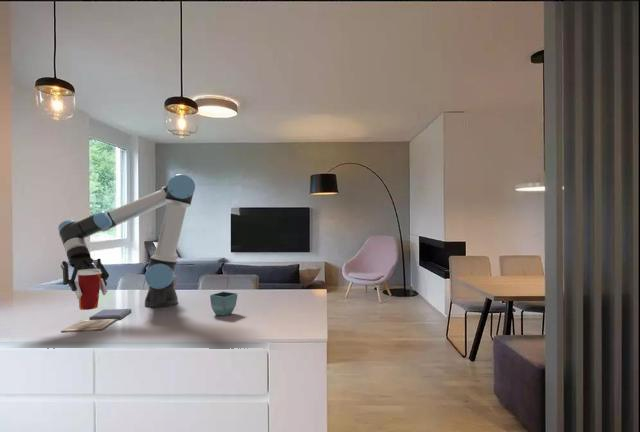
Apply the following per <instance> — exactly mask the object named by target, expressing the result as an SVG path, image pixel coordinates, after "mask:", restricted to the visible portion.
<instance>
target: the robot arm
mask: <svg viewBox="0 0 640 432" xmlns="http://www.w3.org/2000/svg"><path fill="white" fill-rule="evenodd" d="M195 190H196V183H195V181H194V180H193V178H192V177H190V176H189V175H187V174H184V173H179V174H178V173H177V174H175V175H173V176H171V177H170V178H169V180H168V182H167V184H166V185H164V186H161V189H159V190H158V191H157V190H156V191H154V192H152V193H150V194H147V195H145V196H143V197H141V198H138V199H136V200H134V201H131V202H128V203H125V204H124V205H121V206H120V207H116V208H114V209H111V210H109V211H107V212H106V211H104V210H102V211H99V212H95V213H94V214H92V215H89V216H88V217H86V218H83V219H81V220H79V221H76V220H73V219H69V220H64V221H62V222H60V224H59V225H58V227H57V229H58V234H59V237H60V240H61V242H62V246H63V248H64V250H65V254H66V257H67V260H68V261H65V260H63V261H62V262H61V264H60V268H61V270H62V283H63V285H64V286H65V285H68V287H70V288H71V289H70V290H71V292H74V293H75V295H76V298H77V300H79V299H80V298H81V296H82V293H81V290H80V287H79V284H78V280H76V279H77V276H78V275H77V273H78V271H79V270H84V269H100V270H101V272H102V273H101V279H100V290H101V291H100V292H101V293H102V296H106V294H107V293H108V289H107V286H108V282H107V280H108V279H109V277H110V274H109V273H108V271H107V269H106V268H105V267H104V265H103V264H102V260H101V258H96V259H94V258H92V257H91V253H90V251H89V248H88V245H87V244H86V241H85V239H86V238H87V237H89V236H92V235H94V234H96V233H99V232H106V231H109V230H110V229H112V228H115V227H116V226H118V225H121V224H123V223H126V222H128V221H130V220H133V219H135V218H137V217H139V216H142V215H144V214H147V213H149V212H151V211H154V210H156V209H158V208H159V209H160V207H163V206H165V205H166V208H165V213H164V216H163V220H162V223H161V224H162V225H161V229H160V232H159V236H158V240H157V244H156V249H155V252H154V254H153V255H151V256H150V259H149V261H148V266H147V269H146V271H145V273H144V280H145V282H146V284H147V285H148V290H147V294H146V296H145V299H144V306H145V307H150V308H160V307H169V306H172V305H176V304H177V303H179V300H178V299H179V298H178V294H177V292H176V289H175V271H176V268H177V263H178V260H177V258H176V257H175V256H176V253H177V249H178V244H179V240H180V236H181V232H182V228H183V223H184V219H185V216H186V211H187V208H188V207H190V206H191V203H192V200H193V197H194V193H195ZM69 267H71V268H73V270H72V274H71V277H69V273H70V272H69ZM75 280H76V281H75Z"/></svg>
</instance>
